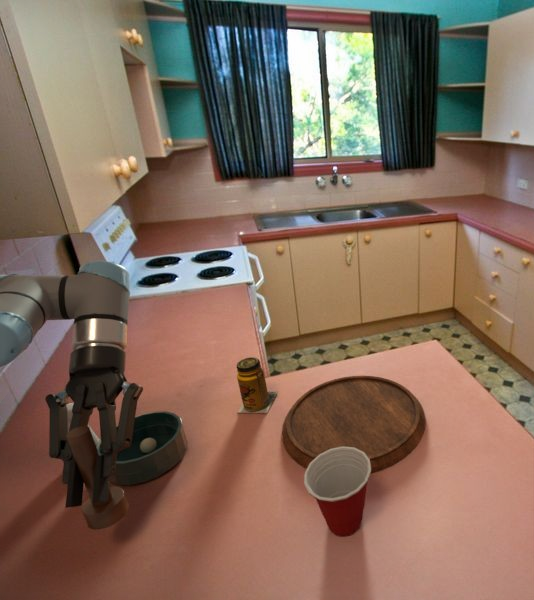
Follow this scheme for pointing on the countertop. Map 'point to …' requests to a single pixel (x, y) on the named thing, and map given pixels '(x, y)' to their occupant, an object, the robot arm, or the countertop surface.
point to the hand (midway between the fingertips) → (87, 504)
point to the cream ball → (148, 445)
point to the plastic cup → (340, 487)
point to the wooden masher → (85, 458)
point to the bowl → (167, 453)
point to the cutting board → (355, 421)
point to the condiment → (253, 387)
